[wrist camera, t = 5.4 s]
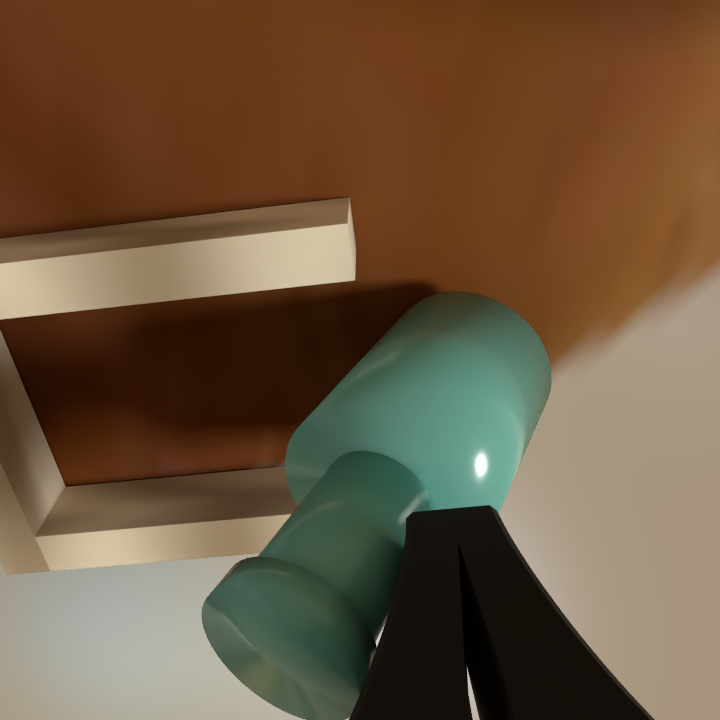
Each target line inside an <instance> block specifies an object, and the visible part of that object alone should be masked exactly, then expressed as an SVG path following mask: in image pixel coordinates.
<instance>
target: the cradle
mask: <svg viewBox="0 0 720 720" xmlns="http://www.w3.org/2000/svg"><path fill="white" fill-rule="evenodd" d="M355 264H356V244H355V237H354V229H353V221H352V213H351V205H350V198H349V197H347V198H339V199H331V200H322V201H314V202H305V203H297V204H288V205H280V206H271V207H263V208H255V209H246V210H238V211H229V212H221V213H212V214H204V215H195V216H187V217H178V218H170V219H162V220H153V221H145V222H136V223H128V224H119V225H111V226H102V227H94V228H86V229H77V230H69V231H60V232H52V233H43V234H35V235H26V236H18V237H9V238H1V239H0V319H9V318H18V317H27V316H36V315H45V314H54V313H63V312H72V311H81V310H90V309H100V308H109V307H118V306H127V305H136V304H145V303H154V302H163V301H172V300H181V299H190V298H199V297H208V296H217V295H226V294H235V293H244V292H253V291H262V290H271V289H280V288H289V287H299V286H308V285H317V284H326V283H335V282H344V281H353V280H355ZM296 508H297V505H296V503H295V501H294V499H293V496H292V494H291V491H290V488H289V485H288V481H287V476H286V469H285V466H283V467H273V468H262V469H251V470H241V471H230V472H219V473H209V474H198V475H187V476H177V477H166V478H155V479H145V480H134V481H124V482H113V483H102V484H92V485H81V486H70V487H66V486H65V484H64V482H63V479H62V477H61V474H60V472H59V470H58V467H57V465H56V462H55V460H54V458H53V455H52V453H51V450H50V448H49V446H48V443H47V441H46V438H45V436H44V434H43V431H42V429H41V426H40V424H39V422H38V419H37V417H36V414H35V412H34V410H33V407H32V405H31V402H30V400H29V398H28V395H27V393H26V390H25V388H24V386H23V383H22V381H21V378H20V376H19V374H18V371H17V369H16V366H15V364H14V362H13V359H12V357H11V354H10V352H9V350H8V347H7V345H6V342H5V340H4V338H3V335H2V333H1V330H0V562H1V564H2V566H3V568H4V570H5V572H6V574H7V575H11V574H21V573H34V572H46V571H57V570H69V569H80V568H92V567H104V566H115V565H127V564H137V563H138V564H139V563H151V562H161V561H174V560H185V559H196V558H208V557H220V556H231V555H243V554H255V553H261V552H262V551H263V549H264V548H265V547H266V546H267V544H268V543H269V542H270V541H271V539H272V538H273V537H274V536H275V534H276V533H277V532H278V531H279V529H280V528H281V527H282V526H283V524H284V523H285V522H286V521H287V519H288V518H289V517H290V516H291V514H292V513H293V512H294V511H295V509H296Z"/></svg>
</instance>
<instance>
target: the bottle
mask: <svg viewBox="0 0 720 720" xmlns="http://www.w3.org/2000/svg"><path fill="white" fill-rule="evenodd" d="M551 380H552V379H551V367H550V363H549V358H548V356H547V353H546V350H545V348H544V346H543V344H542V342H541V340H540V338H539V337H538V335H537V334H536V333H535V331H534V330H533V329H532V327H531V326H530V325H529V324H528V323H527V322H526V321H525V320H524V319H523V318H522V317H521V316H520V315H518V314H517V313H516V312H515V311H513V310H512V309H510V308H509V307H507V306H506V305H504V304H502V303H500V302H498V301H496V300H494V299H491V298H489V297H486V296H483V295H479V294H475V293H469V292H444V293H439V294H435V295H431V296H429V297H426V298H424V299H422V300H420V301H419V302H417V303H415V304H414V305H413V306H411V307H410V308H409V309H408V310H407V311H406V312H405V313H404V314H403V315H402V316H401V317H400V318H399V319H398V320H397V322H396V323H395V324H394V325H393V326H392V327H391V328H390V329H389V330H388V331H387V332H386V333H385V334H384V335H383V337H382V338H381V339H380V340H379V341H378V342H377V343H376V344H375V345H374V346H373V347H372V348H371V349H370V351H369V352H368V353H367V354H366V355H365V356H364V357H363V358H362V359H361V360H360V361H359V362H358V363H357V365H356V366H355V367H354V368H353V369H352V370H351V371H350V372H349V373H348V374H347V375H346V376H345V377H344V378H343V380H342V381H341V382H340V383H339V384H338V385H337V386H336V387H335V388H334V389H333V390H332V391H331V392H330V394H329V395H328V396H327V397H326V398H325V399H324V400H323V401H322V402H321V403H320V404H319V405H318V406H317V407H316V409H315V410H314V411H313V412H312V413H311V414H310V415H309V416H308V417H307V418H306V419H305V420H304V421H303V423H302V424H301V425H300V426H299V427H298V428H297V429H296V431H295V432H294V434H293V436H292V437H291V439H290V441H289V444H288V447H287V452H286V458H285V469H286V476H287V481H288V485H289V488H290V491H291V494H292V496H293V499H294V501H295V503H296V505H297V508H296V509H295V511H294V512H293V513H292V514H291V516H290V517H289V518H288V519H287V521H286V522H285V523H284V524H283V526H282V527H281V528H280V529H279V531H278V532H277V533H276V534H275V536H274V537H273V538H272V539H271V541H270V542H269V543H268V544H267V546H266V547H265V548H264V549H263V551H262V552H261V553H260V554H259V556H258V557H251V558H246V559H244V560H241V561H239V562H238V563H236V564H235V565H234V566H233V567H232V568H231V569H230V570H229V572H228V573H227V574H226V575H225V576H224V578H223V579H222V580H221V582H220V583H219V584H218V585H217V586H216V587H215V589H214V590H213V591H212V592H211V593H210V595H209V596H208V597H207V598H206V600H205V602H204V604H203V608H202V623H203V626H204V630H205V633H206V635H207V638H208V640H209V642H210V644H211V646H212V647H213V649H214V650H215V652H216V654H217V655H218V657H219V658H220V659H221V661H222V662H223V663H224V664H225V666H226V667H227V668H228V669H229V670H230V671H231V672H232V673H233V674H234V675H235V676H236V677H237V678H238V679H239V680H240V681H241V682H242V683H243V684H244V685H245V686H246V687H248V688H249V689H250V690H251V691H253V692H254V693H255V694H257V695H258V696H260V697H261V698H262V699H264V700H266V701H267V702H269V703H270V704H272V705H273V706H275V707H277V708H279V709H281V710H283V711H285V712H287V713H290V714H291V715H294V716H297V717H300V718H302V719H306V720H345V719H347V718H349V717H350V716H351V714H352V712H353V709H354V707H355V705H356V702H357V700H358V697H359V695H360V692H361V690H362V687H363V685H364V682H365V680H366V677H367V675H368V672H369V669H370V666H371V663H372V660H373V658H374V655H375V652H376V649H377V647H376V643H375V641H376V640H377V638H378V636H379V634H380V632H381V630H382V628H383V626H384V624H385V622H386V619H387V616H388V612H389V609H390V605H391V601H392V598H393V594H394V591H395V587H396V583H397V579H398V575H399V570H400V566H401V561H402V556H403V550H404V543H405V534H406V518H407V517H408V516H409V515H410V514H411V513H412V512H417V511H429V510H440V509H451V508H462V507H473V506H484V505H490V506H492V507H493V508H494V509H496V510H497V512H498V514H499V511H500V509H501V507H502V504H503V502H504V500H505V497H506V495H507V493H508V491H509V488H510V486H511V483H512V481H513V479H514V477H515V474H516V472H517V469H518V467H519V465H520V463H521V460H522V458H523V456H524V453H525V451H526V448H527V446H528V444H529V441H530V439H531V437H532V435H533V432H534V430H535V428H536V425H537V423H538V421H539V418H540V416H541V414H542V412H543V409H544V407H545V405H546V402H547V400H548V397H549V393H550V389H551Z"/></svg>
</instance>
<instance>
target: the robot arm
mask: <svg viewBox="0 0 720 720" xmlns="http://www.w3.org/2000/svg"><path fill="white" fill-rule="evenodd" d="M467 668H468V672H469V677H470V681H471V685H472V689H473V693H474V698H475V702H476V706H477V710H478V714H479V718H480V720H654V719H653V718H652V717H651V716H650V715H649V713H648V712H647V711H646V710H645V709H644V708H643V707H642V706H641V705H640V704H639V703H638V702H637V701H636V700H635V699H634V697H633V696H632V695H631V694H630V693H629V692H628V691H627V690H626V689H625V688H624V686H623V685H622V684H621V683H620V682H619V681H618V680H617V679H616V677H615V676H614V675H613V674H612V673H611V672H610V671H609V669H608V668H607V667H606V666H605V665H604V664H603V663H602V661H601V660H600V659H599V658H598V656H597V655H596V654H595V653H594V652H593V650H592V649H591V648H590V647H589V645H588V644H587V643H586V642H585V641H584V639H583V638H582V637H581V636H580V635H579V633H578V632H577V631H576V629H575V628H574V627H573V626H572V624H571V623H570V622H569V620H568V619H567V618H566V617H565V615H564V614H563V613H562V611H561V610H560V608H559V607H558V606H557V605H556V603H555V602H554V600H553V599H552V598H551V596H550V595H549V594H548V592H547V591H546V589H545V588H544V587H543V585H542V584H541V583H540V581H539V580H538V578H537V577H536V575H535V574H534V573H533V571H532V570H531V568H530V566H529V565H528V564H527V562H526V560H525V559H524V557H523V556H522V554H521V553H520V551H519V550H518V548H517V546H516V545H515V543H514V541H513V540H512V538H511V537H510V535H509V533H508V531H507V529H506V527H505V526H504V524H503V522H502V520H501V518H500V516H499V514H498V512H497V510H496V509H494V508H493V507H492V506H490V505H484V506H473V507H462V508H451V509H440V510H429V511H417V512H412V513H411V514H410V515H409V516H408V517H407V518H406V534H405V543H404V550H403V556H402V561H401V566H400V570H399V575H398V579H397V583H396V587H395V591H394V594H393V598H392V601H391V605H390V609H389V612H388V616H387V619H386V623H385V626H384V629H383V632H382V635H381V638H380V641H379V644H378V646H377V649H376V652H375V655H374V658H373V660H372V663H371V666H370V669H369V672H368V675H367V677H366V680H365V682H364V685H363V687H362V690H361V692H360V695H359V697H358V700H357V702H356V705H355V707H354V709H353V712H352V714H351V716H350V719H349V720H473V719H472V713H471V708H470V702H469V696H468V681H467Z"/></svg>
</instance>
